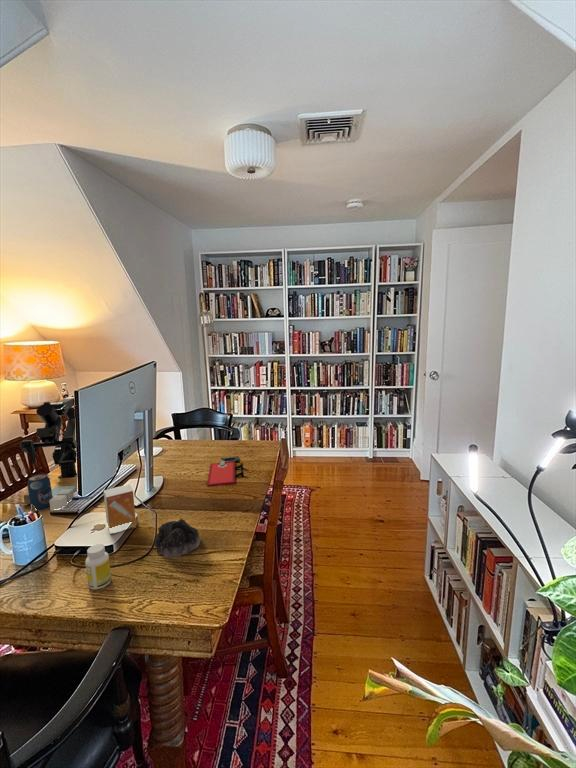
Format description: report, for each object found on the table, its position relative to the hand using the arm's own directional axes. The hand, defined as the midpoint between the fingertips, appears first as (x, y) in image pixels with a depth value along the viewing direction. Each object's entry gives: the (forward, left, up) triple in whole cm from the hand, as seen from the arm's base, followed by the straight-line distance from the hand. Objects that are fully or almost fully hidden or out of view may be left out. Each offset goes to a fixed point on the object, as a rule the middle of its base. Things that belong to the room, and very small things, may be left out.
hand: (45, 464), depth 143 cm
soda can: (+8, +1, -14) cm, 16 cm away
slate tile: (-3, +2, -14) cm, 14 cm away
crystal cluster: (+39, +58, -14) cm, 71 cm away
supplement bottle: (+53, +40, -14) cm, 68 cm away
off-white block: (+9, +8, -14) cm, 18 cm away
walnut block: (+3, -5, -14) cm, 15 cm away
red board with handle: (-17, +67, -15) cm, 71 cm away
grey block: (+4, +8, -14) cm, 16 cm away
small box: (+26, +36, -14) cm, 47 cm away
